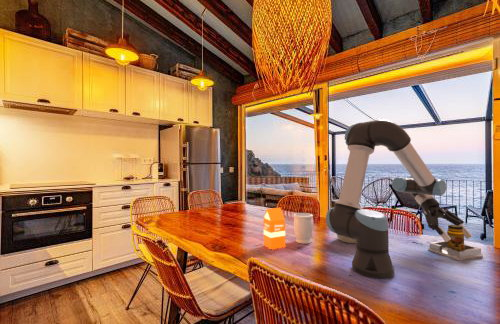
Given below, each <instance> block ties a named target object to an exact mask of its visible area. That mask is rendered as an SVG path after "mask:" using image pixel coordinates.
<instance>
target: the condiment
mask: <svg viewBox="0 0 500 324" xmlns="http://www.w3.org/2000/svg"><path fill="white" fill-rule="evenodd" d="M446 233H447V234H448V236H449V237H450V238H451V240H449V241H448V242H447V243H448V244H447V245H448V248H451V249H454V250H458V251H460V250H464V244H465V236H464V233H463V227H462V226H459V225H454V224H448V225H447V231H446ZM448 248H442V249H444V250H446V251H448Z"/></svg>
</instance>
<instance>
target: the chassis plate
mask: <svg viewBox="0 0 500 324" xmlns="http://www.w3.org/2000/svg"><path fill="white" fill-rule="evenodd" d="M447 244H448V243H447V242H445V241H444V240H440V241H433V242H432V241H431V242H429V247H428V249H427V250H428V251H431V252H433V253H436V254H439V255H441V256H444V257H448V258H450V259H454V260H456V261H463V260H470V259H475V258H480V257H481V258H482V257H483V256H484V255H483V253H482V248H481V247H477V246H474V245H469V244H466V243H464V250H460V251H458V250H454V249H451V248H448V245H447ZM442 248H448V251H446V250H444V249H442Z"/></svg>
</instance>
